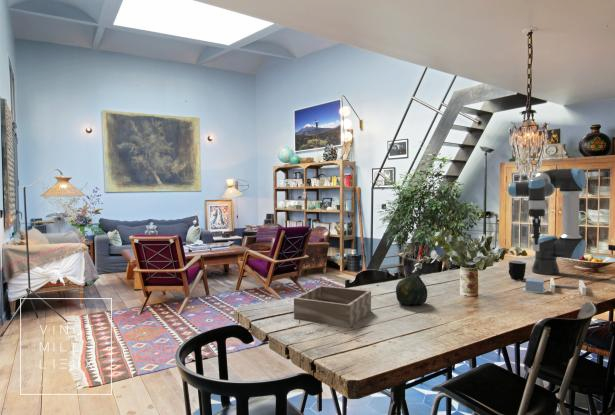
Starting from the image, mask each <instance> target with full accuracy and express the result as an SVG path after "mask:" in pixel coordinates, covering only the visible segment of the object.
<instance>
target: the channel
mask: <svg viewBox="0 0 615 415" xmlns="http://www.w3.org/2000/svg"><path fill="white" fill-rule="evenodd" d="M549 280H550V281H549V282H550V283H549V286H550V292H551V293H552V294H553V293H554V294H555V293H556V292H555V291H556V290H555V289H556V286H555V285H556V284H555V279H554V278H553V277H550V278H549ZM578 289H579V292H580V293H581V295H582V296H585V297H586V295H587V287H586V285H585V283H584V280H581V279H579V280H578Z"/></svg>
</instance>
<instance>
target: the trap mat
mask: <svg viewBox="0 0 615 415" xmlns="http://www.w3.org/2000/svg"><path fill="white" fill-rule="evenodd" d="M557 288H558V289H568V290H578V289H579V287H577V286H571V285H570V286H569V285H568V286H567V285H558V284H555V289H557Z"/></svg>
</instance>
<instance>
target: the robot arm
mask: <svg viewBox="0 0 615 415" xmlns="http://www.w3.org/2000/svg"><path fill="white" fill-rule="evenodd" d="M586 187H587V177H586V173H585V171H584V170H583V169H582V168H575V167H572V168H552V169H548V170H545V171H542V172H538V173H537V174H535V176H533V177H531V178H528V179H525V180H523V181H520V182H511V183H509V185H507V192H508V195H509V196H511V197H528V202H527V203H526V204H527V205H528V208H529V209H528V216H529V217H533V218H532V220H531V221H532V222H531V223H532V228H533V233H532V234H533V236H531V239H533V242H532V244H533V245H532V248H533V249H532V251H533V252H535V253H534V254H535V259H534V261H533V264H532V267H531V272H532V273H534V274H538V275H548V276H554V275H555V276H556V275H559V274H560V269H559V264H558V262H557V258H561V259H562V258H563V259H571V260H580V259H582V258H583V257H584V256H585V252H586V250H587V243H586V240H584V239H583V236H582V235H581V234H580V195H581V193H582V192H583V189H585V188H586ZM556 189H559V192H560V194H561V196H562V199H561V200H562V206H561V207H562V209H561V210H562V215H561V216H562V218H561V220H562V222H561V224H562V225H561V226H562V230H561V231H562V233H561V234H560V235H559V237H558V236H557V235H541V232H540V228H541V224H542V223H541V222H542V220H541V219H540V217H545V216H546V215H545V214H546V210H545V208H546V197H550V196H551V195H553V194H554V193H555V190H556ZM540 235H541V236H540Z"/></svg>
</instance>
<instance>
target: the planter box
mask: <svg viewBox="0 0 615 415" xmlns="http://www.w3.org/2000/svg"><path fill="white" fill-rule="evenodd" d="M371 311H372V291H371V290H362V289H354V288H345V287H336V286H327V285H318V286H317V287H314V288H312V289H311V290H308V291H305V292H304V293H301V294H300V295H298V296H296V297H294V298H293V319H294V320H297V321H304V322H309V323H316V324H323V325H329V326H334V327H335V326H336V327H343V328H347V329H350V328H352V327H353V326H354V325H355V324H356V323H358V322H359V321H360V320H362V319H363V318H364V317H365V316H367V315H368V314H369V313H370V312H371Z"/></svg>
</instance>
